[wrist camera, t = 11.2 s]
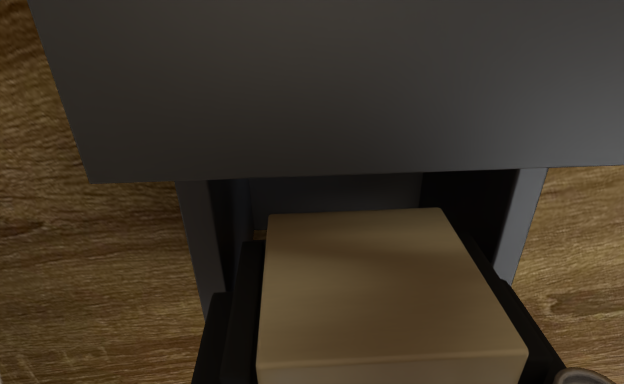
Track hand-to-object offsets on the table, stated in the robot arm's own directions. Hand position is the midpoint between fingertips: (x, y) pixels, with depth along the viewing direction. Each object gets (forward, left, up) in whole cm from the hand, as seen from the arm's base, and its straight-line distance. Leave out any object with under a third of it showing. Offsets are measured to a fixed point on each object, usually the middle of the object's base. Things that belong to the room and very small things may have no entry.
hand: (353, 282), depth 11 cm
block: (0, 0, 0) cm, 0 cm away
